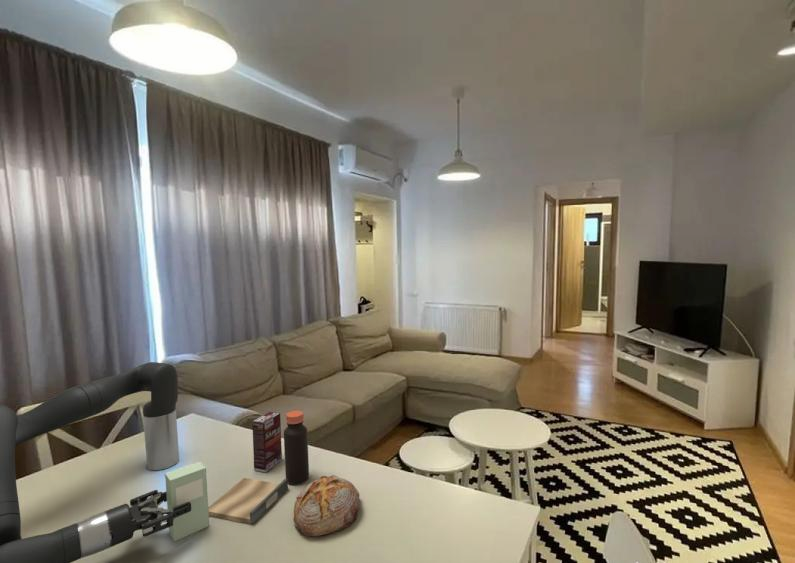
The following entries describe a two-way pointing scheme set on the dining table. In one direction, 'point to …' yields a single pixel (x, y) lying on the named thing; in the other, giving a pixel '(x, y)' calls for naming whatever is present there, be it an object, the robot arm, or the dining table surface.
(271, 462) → the supplement box
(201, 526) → the carton
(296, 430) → the bottle
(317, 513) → the bread
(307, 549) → the dining table surface
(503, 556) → the dining table surface
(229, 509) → the tan flat piece
